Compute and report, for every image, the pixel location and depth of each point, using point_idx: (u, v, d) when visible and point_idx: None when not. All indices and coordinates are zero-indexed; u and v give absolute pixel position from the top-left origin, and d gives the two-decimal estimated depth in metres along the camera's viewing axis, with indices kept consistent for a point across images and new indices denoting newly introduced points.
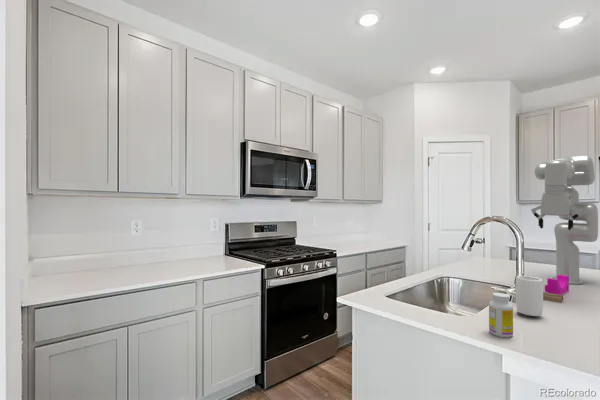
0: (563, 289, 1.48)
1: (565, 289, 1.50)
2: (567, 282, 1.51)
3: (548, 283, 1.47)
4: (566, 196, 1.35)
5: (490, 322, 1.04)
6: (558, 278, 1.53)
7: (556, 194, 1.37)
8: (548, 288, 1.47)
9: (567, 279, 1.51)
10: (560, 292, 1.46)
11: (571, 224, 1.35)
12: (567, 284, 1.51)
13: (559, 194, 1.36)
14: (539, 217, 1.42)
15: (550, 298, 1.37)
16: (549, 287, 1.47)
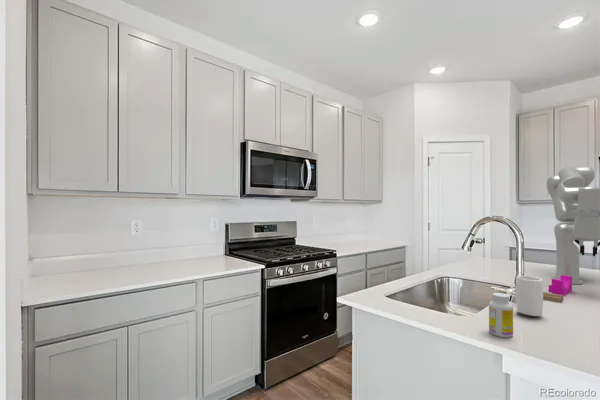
0: (567, 290, 1.47)
1: (569, 289, 1.49)
2: (570, 282, 1.51)
3: (552, 284, 1.46)
4: None
5: (490, 322, 1.04)
6: (561, 278, 1.53)
7: (590, 219, 1.40)
8: (553, 288, 1.46)
9: (570, 279, 1.51)
10: (564, 293, 1.46)
11: (595, 251, 1.40)
12: (570, 284, 1.51)
13: (593, 219, 1.39)
14: (581, 244, 1.43)
15: (550, 298, 1.37)
16: (553, 288, 1.45)
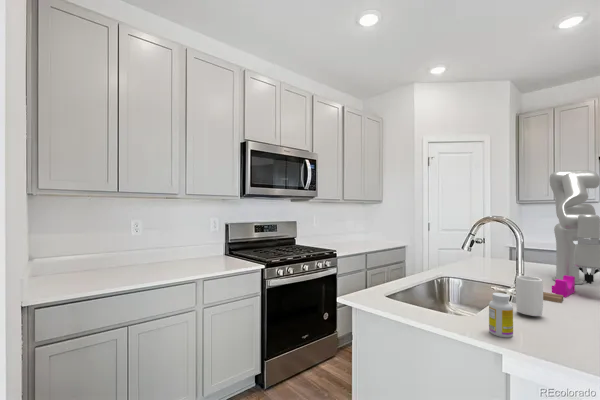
0: (570, 290, 1.47)
1: (572, 290, 1.49)
2: (573, 283, 1.50)
3: (556, 284, 1.45)
4: None
5: (490, 322, 1.04)
6: (564, 279, 1.52)
7: (590, 247, 1.40)
8: (556, 289, 1.45)
9: (573, 280, 1.50)
10: (568, 293, 1.45)
11: (592, 278, 1.40)
12: (573, 285, 1.50)
13: (593, 247, 1.39)
14: (585, 272, 1.42)
15: (550, 298, 1.37)
16: (557, 288, 1.45)
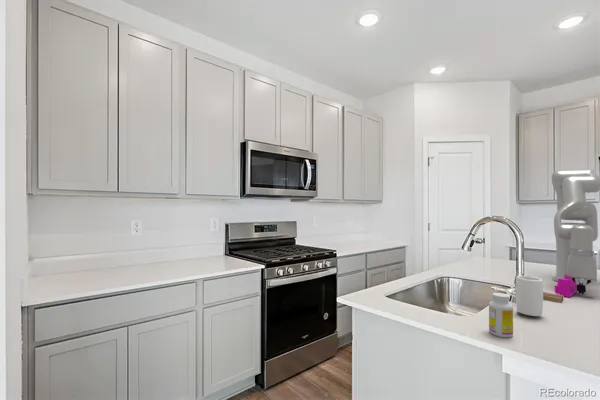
0: (573, 289, 1.47)
1: (574, 288, 1.48)
2: None
3: (559, 283, 1.45)
4: (592, 261, 1.40)
5: (490, 322, 1.04)
6: (566, 278, 1.52)
7: (582, 258, 1.42)
8: (560, 288, 1.44)
9: None
10: (571, 292, 1.44)
11: (584, 289, 1.43)
12: (575, 283, 1.50)
13: (585, 258, 1.41)
14: (578, 282, 1.44)
15: (550, 298, 1.37)
16: (561, 287, 1.44)
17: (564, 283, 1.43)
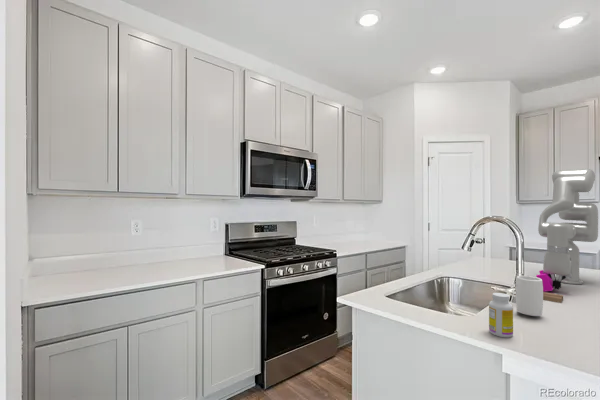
0: (551, 283, 1.52)
1: (552, 282, 1.54)
2: None
3: None
4: (567, 257, 1.46)
5: (490, 322, 1.04)
6: (541, 274, 1.58)
7: (558, 255, 1.48)
8: None
9: None
10: (551, 285, 1.49)
11: (559, 284, 1.48)
12: None
13: (560, 255, 1.47)
14: (553, 278, 1.50)
15: (550, 298, 1.37)
16: None
17: (543, 278, 1.48)
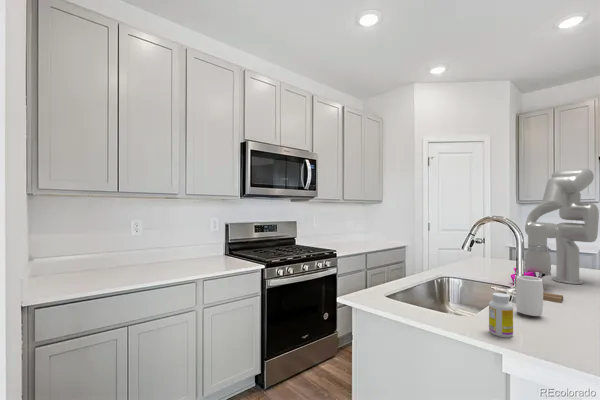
0: None
1: None
2: None
3: None
4: (546, 256, 1.52)
5: (490, 322, 1.04)
6: None
7: (537, 253, 1.53)
8: None
9: None
10: None
11: None
12: None
13: (540, 254, 1.53)
14: (534, 276, 1.56)
15: (550, 298, 1.37)
16: None
17: None
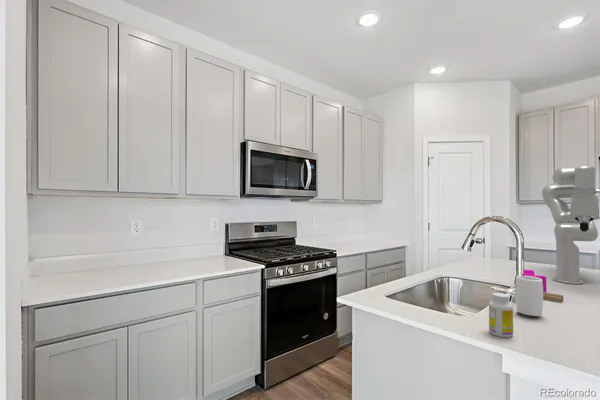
0: None
1: None
2: None
3: None
4: (595, 198, 1.45)
5: (490, 322, 1.04)
6: (527, 273, 1.63)
7: (585, 196, 1.47)
8: None
9: None
10: None
11: (587, 226, 1.48)
12: None
13: (588, 196, 1.46)
14: (580, 221, 1.49)
15: (550, 298, 1.37)
16: None
17: (542, 280, 1.51)
